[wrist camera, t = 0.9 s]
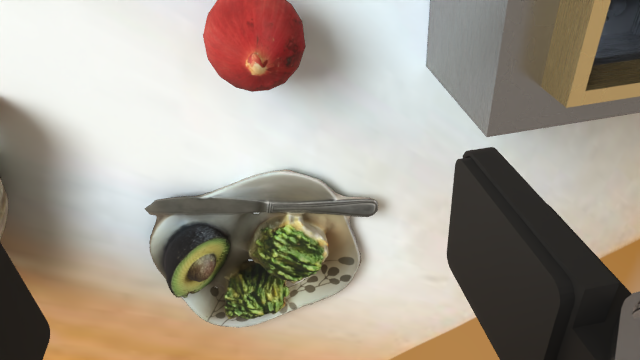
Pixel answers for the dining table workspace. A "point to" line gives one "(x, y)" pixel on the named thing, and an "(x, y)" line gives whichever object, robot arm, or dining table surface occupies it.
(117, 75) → the dining table surface
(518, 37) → the housing
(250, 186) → the salad plate
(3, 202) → the decorative bird
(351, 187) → the dining table surface
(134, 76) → the dining table surface
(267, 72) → the onion
